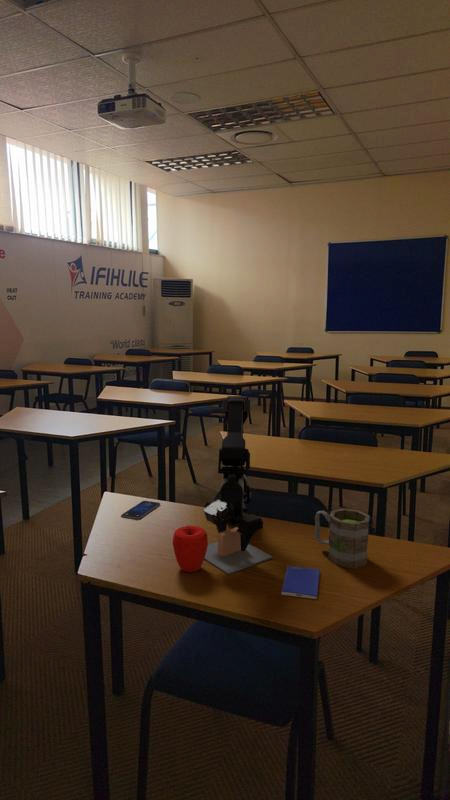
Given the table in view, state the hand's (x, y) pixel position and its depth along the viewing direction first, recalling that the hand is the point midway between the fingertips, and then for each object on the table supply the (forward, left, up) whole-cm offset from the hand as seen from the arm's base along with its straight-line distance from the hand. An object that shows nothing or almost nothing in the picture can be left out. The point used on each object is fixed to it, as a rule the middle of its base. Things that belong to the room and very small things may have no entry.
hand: (232, 544), depth 138 cm
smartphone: (+5, -42, -3) cm, 42 cm away
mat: (+1, +1, -2) cm, 3 cm away
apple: (+14, 0, -2) cm, 14 cm away
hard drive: (-3, +23, -3) cm, 23 cm away
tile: (0, 0, -2) cm, 2 cm away
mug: (-22, +19, -2) cm, 29 cm away
